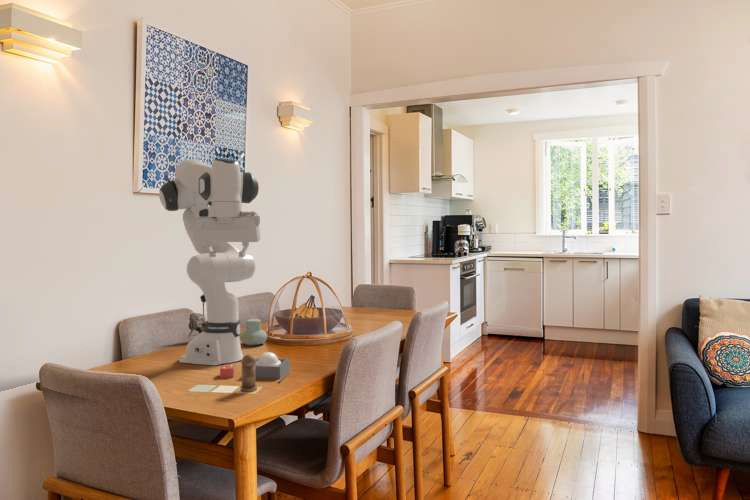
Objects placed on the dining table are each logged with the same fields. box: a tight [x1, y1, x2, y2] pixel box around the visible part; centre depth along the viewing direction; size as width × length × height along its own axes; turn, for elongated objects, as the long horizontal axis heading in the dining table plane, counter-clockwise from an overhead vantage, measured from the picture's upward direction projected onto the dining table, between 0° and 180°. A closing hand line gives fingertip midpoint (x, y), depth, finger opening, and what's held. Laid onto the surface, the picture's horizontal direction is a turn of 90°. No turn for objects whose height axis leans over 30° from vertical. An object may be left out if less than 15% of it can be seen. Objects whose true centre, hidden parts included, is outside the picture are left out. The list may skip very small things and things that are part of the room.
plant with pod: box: [187, 293, 207, 339], centre depth 238 cm, size 8×11×20 cm
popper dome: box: [255, 351, 281, 366], centre depth 181 cm, size 8×8×6 cm
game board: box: [187, 384, 263, 395], centre depth 164 cm, size 21×9×1 cm, turn 83°
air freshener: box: [239, 318, 268, 347], centre depth 232 cm, size 11×8×10 cm
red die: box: [219, 364, 236, 379], centre depth 178 cm, size 4×4×4 cm
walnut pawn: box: [240, 354, 258, 392], centre depth 163 cm, size 5×5×10 cm
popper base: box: [255, 357, 291, 384], centre depth 181 cm, size 11×11×5 cm
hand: (227, 257), depth 172 cm, fingers open, 8 cm apart
